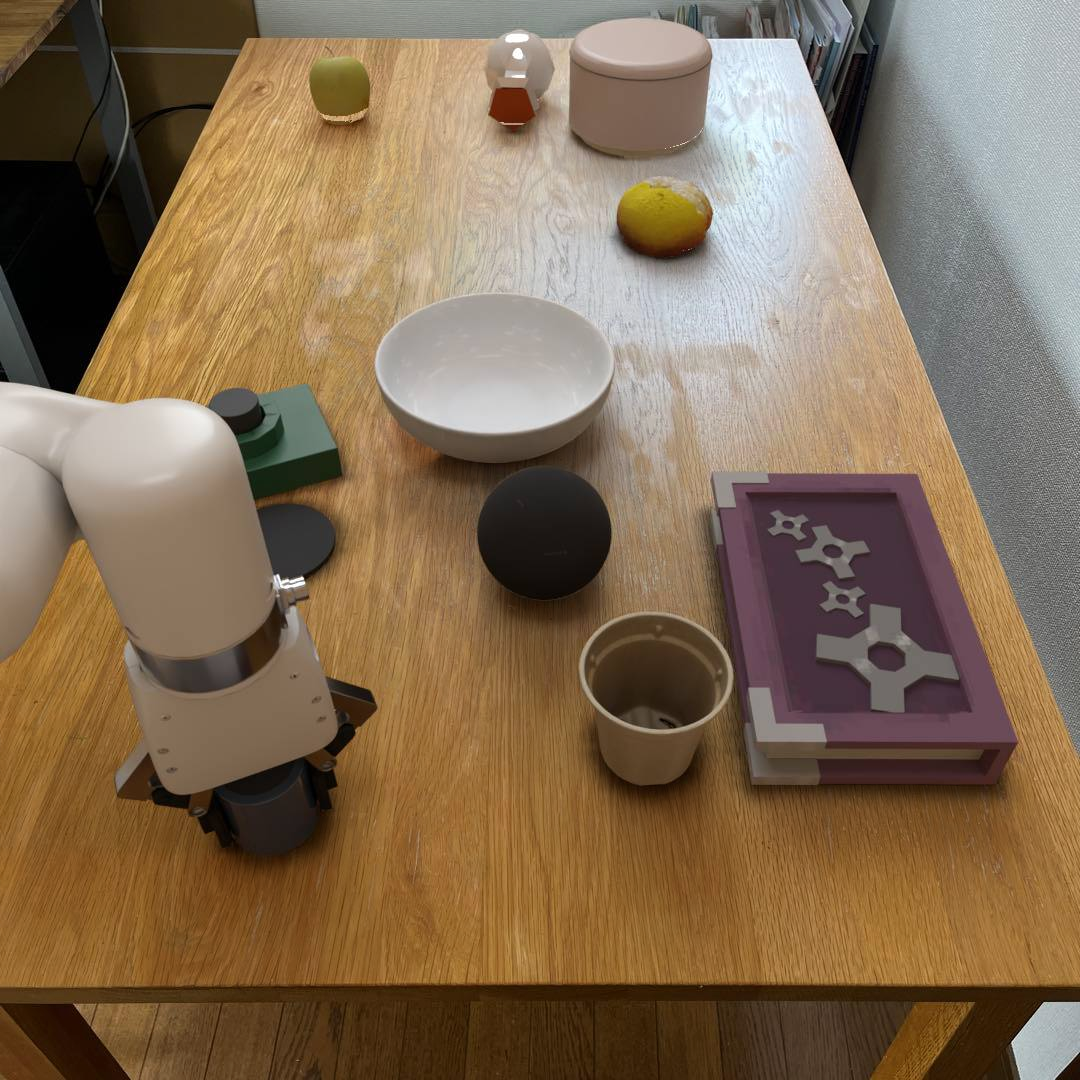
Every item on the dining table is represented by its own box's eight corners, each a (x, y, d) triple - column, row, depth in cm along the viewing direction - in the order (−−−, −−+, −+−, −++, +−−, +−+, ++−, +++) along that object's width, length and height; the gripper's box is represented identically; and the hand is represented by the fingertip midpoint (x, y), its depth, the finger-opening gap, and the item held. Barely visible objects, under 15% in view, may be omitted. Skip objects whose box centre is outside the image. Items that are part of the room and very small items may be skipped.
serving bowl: (432, 524, 85) (425, 460, 80) (352, 385, 99) (342, 323, 94) (653, 453, 91) (659, 390, 87) (550, 332, 105) (550, 271, 100)
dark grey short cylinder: (219, 441, 86) (213, 421, 84) (209, 413, 88) (204, 394, 87) (267, 428, 87) (262, 409, 85) (256, 402, 89) (252, 382, 88)
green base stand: (177, 521, 86) (162, 475, 82) (158, 449, 92) (142, 404, 89) (343, 476, 89) (334, 430, 86) (313, 410, 96) (304, 365, 92)
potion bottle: (532, 96, 150) (523, 153, 141) (475, 56, 146) (462, 112, 137) (570, 45, 144) (563, 102, 135) (511, 2, 140) (500, 57, 131)
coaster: (234, 599, 79) (233, 596, 79) (212, 524, 85) (210, 521, 85) (349, 565, 82) (348, 562, 82) (319, 495, 88) (318, 491, 88)
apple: (360, 129, 137) (331, 49, 131) (315, 136, 141) (284, 59, 135) (392, 106, 142) (365, 29, 136) (347, 114, 146) (319, 40, 140)
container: (554, 154, 134) (555, 60, 125) (582, 99, 146) (585, 10, 138) (694, 168, 131) (704, 72, 122) (711, 110, 143) (721, 20, 135)
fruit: (734, 243, 117) (726, 183, 110) (655, 288, 116) (642, 230, 109) (681, 198, 124) (671, 140, 117) (606, 241, 123) (592, 184, 116)
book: (705, 517, 86) (712, 471, 82) (901, 517, 86) (917, 471, 82) (746, 785, 68) (757, 741, 64) (994, 786, 68) (1019, 743, 64)
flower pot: (702, 827, 66) (718, 750, 60) (559, 789, 68) (560, 710, 62) (727, 710, 72) (744, 629, 66) (596, 679, 74) (600, 597, 68)
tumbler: (240, 869, 64) (219, 818, 59) (222, 796, 67) (200, 742, 63) (329, 836, 65) (314, 784, 61) (307, 766, 69) (291, 712, 65)
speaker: (547, 649, 76) (548, 554, 69) (453, 581, 81) (444, 485, 74) (635, 576, 81) (643, 480, 74) (541, 516, 86) (540, 420, 79)
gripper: (350, 529, 58) (385, 719, 71) (24, 623, 53) (125, 810, 66) (392, 623, 53) (421, 810, 66) (36, 737, 48) (143, 914, 61)
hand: (272, 808), depth 66 cm, fingers closed on tumbler, 5 cm apart
